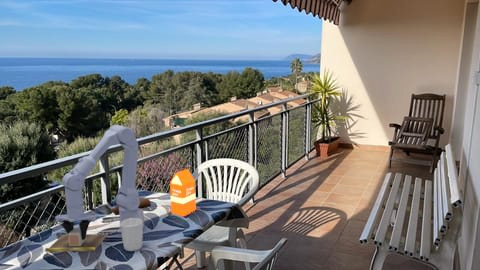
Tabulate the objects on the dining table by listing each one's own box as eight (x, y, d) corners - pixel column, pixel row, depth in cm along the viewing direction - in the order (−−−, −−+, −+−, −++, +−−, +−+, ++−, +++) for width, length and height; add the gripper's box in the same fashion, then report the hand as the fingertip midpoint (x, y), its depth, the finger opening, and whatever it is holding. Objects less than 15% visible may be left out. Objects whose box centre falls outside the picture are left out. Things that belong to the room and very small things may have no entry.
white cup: (132, 254, 135) (130, 228, 133) (117, 248, 139) (115, 223, 137) (148, 245, 141) (147, 220, 140) (133, 240, 146) (132, 216, 144)
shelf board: (107, 235, 150) (107, 231, 150) (94, 252, 136) (94, 248, 136) (63, 236, 150) (62, 232, 150) (45, 253, 136) (44, 249, 136)
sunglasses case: (142, 201, 189) (145, 192, 185) (149, 211, 185) (151, 202, 182) (108, 210, 177) (110, 200, 174) (114, 221, 173) (116, 211, 170)
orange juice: (196, 210, 176) (194, 169, 173) (183, 216, 169) (182, 174, 166) (183, 207, 180) (182, 167, 177) (170, 213, 173) (169, 171, 170)
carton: (86, 238, 144) (85, 226, 143) (79, 246, 138) (78, 233, 137) (76, 238, 144) (75, 226, 143) (69, 246, 138) (67, 233, 137)
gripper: (50, 208, 134) (53, 243, 137) (90, 208, 134) (93, 243, 137) (59, 202, 141) (62, 235, 144) (97, 201, 141) (100, 235, 144)
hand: (77, 238), depth 141 cm, fingers closed on carton, 4 cm apart
